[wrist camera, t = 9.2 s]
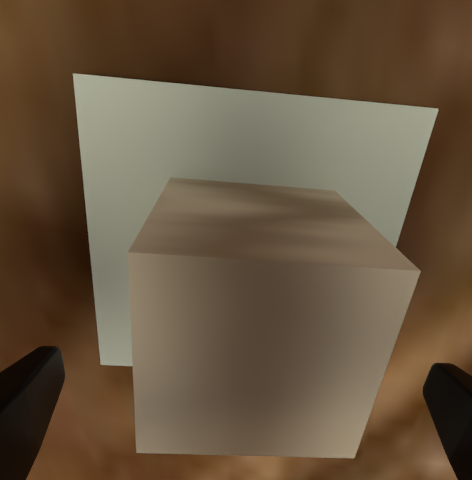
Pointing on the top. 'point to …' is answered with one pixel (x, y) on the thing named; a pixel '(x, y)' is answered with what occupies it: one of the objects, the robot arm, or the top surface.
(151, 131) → the sage board
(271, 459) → the top surface
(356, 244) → the birch cube
